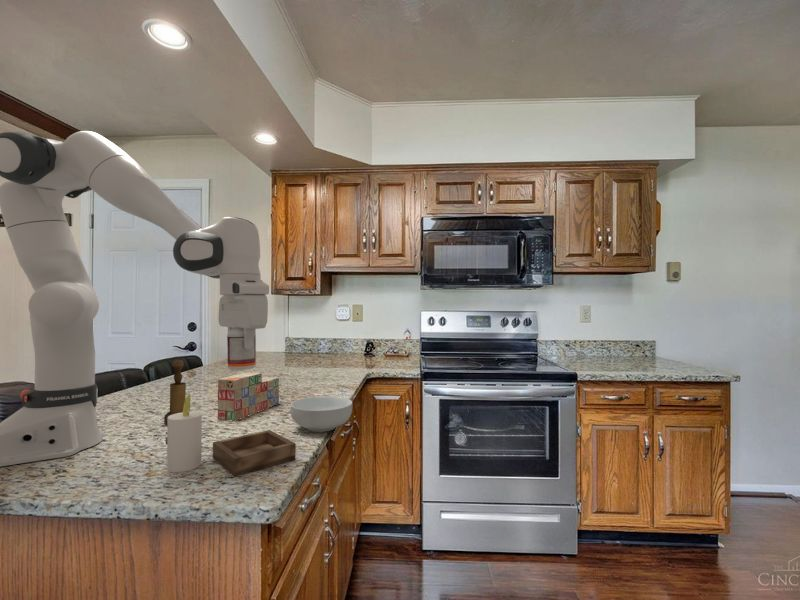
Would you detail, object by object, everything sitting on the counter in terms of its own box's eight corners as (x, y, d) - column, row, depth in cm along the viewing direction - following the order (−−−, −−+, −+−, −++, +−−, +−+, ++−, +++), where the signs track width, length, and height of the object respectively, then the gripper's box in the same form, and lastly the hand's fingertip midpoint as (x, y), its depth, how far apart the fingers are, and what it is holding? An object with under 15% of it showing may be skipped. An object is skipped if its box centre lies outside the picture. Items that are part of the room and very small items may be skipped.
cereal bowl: (326, 441, 98) (326, 413, 98) (276, 431, 106) (277, 405, 106) (364, 424, 113) (364, 399, 113) (318, 416, 121) (318, 393, 121)
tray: (234, 476, 77) (234, 458, 77) (212, 458, 87) (212, 442, 87) (295, 459, 86) (295, 443, 86) (269, 444, 96) (269, 429, 96)
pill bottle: (234, 366, 95) (233, 319, 95) (260, 365, 95) (259, 318, 95) (222, 370, 89) (222, 320, 89) (250, 370, 89) (249, 319, 89)
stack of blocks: (263, 403, 137) (264, 367, 138) (279, 404, 135) (279, 368, 136) (217, 420, 117) (217, 378, 117) (234, 421, 115) (234, 379, 115)
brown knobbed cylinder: (194, 421, 115) (195, 359, 116) (171, 426, 110) (172, 361, 110) (182, 417, 119) (182, 357, 119) (159, 423, 113) (160, 360, 114)
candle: (170, 462, 85) (171, 391, 85) (204, 458, 87) (204, 390, 87) (161, 473, 79) (162, 398, 79) (197, 470, 81) (198, 396, 81)
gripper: (211, 289, 97) (211, 345, 97) (244, 285, 82) (244, 352, 82) (237, 289, 102) (237, 343, 102) (272, 286, 87) (273, 349, 87)
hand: (241, 347), depth 92 cm, fingers closed on pill bottle, 6 cm apart
